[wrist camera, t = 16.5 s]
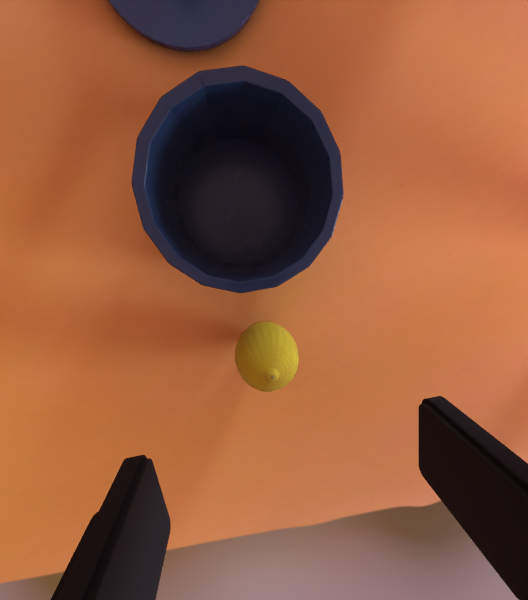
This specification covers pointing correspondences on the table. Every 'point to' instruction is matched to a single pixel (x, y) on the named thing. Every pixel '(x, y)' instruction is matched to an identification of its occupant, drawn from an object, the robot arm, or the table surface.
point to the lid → (186, 20)
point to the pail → (237, 179)
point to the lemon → (266, 356)
